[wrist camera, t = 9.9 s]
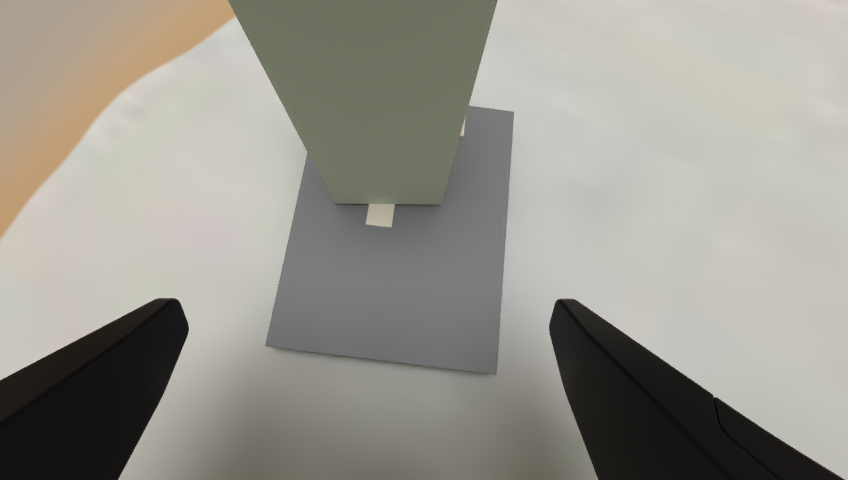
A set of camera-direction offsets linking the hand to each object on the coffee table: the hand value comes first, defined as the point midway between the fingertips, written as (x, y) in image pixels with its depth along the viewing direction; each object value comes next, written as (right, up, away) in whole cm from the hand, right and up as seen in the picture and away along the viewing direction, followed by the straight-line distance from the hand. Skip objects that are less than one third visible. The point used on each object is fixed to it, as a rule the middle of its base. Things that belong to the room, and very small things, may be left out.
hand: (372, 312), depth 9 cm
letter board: (0, +2, +10) cm, 10 cm away
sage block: (0, +6, +9) cm, 11 cm away
